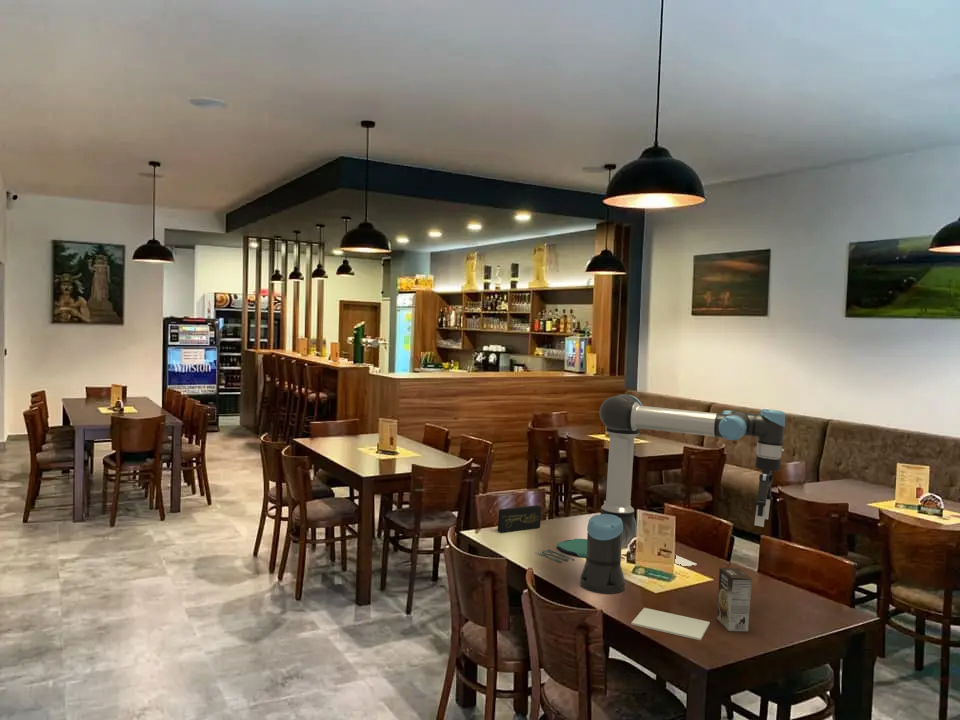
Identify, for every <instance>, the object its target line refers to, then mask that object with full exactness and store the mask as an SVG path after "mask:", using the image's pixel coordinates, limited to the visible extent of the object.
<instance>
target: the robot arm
mask: <svg viewBox="0 0 960 720" xmlns="http://www.w3.org/2000/svg"><path fill="white" fill-rule="evenodd" d="M599 418H600V420H601V422H602V424H603V425H604V426H605V433H606V434H607V435H608V436H609V442H608V444H609V446H608V462H607V480H606V493H605V495H606V496H605V502H604V503H603V505H601V506H600V507H601V508H600V514H594V515H593V516H591V517H590V518H589V519H588V523H587V526H586V527H587V533H586V534H587V536H586V539H587V556H586V557H585V558H586V560H585V563H584V567H583V569H582V571H581V574H580V577H579V584H580V587H581V588H583V589H585V590H588V591H590V592H594V593H599V594H616V593H617V594H618V593H621V592H623V591H624V590H625V587H626V586H625V585H626V580H625V576H624V573H623V570H622V569H623V568H622V565H621V563H622V549H623V547H624V546H625V545H627V544H629V543H630V542H631V541H632V539H633V538H634V536H635V535H636V532H637V522H636V518H635V509H634V507H632V505H631V498H632V483H633V482H632V480H633V467H634V466H633V465H634V464H633V463H634V451H635V449H634V448H635V439H636V438H637V436H639V435H640V429H642V430H652V431H661V432H668V433H670V432H671V433H676V434H677V433H678V434H687V435H697V436H705V437H714V438H720V439H721V438H722V439H725V440H727V441H728V440H729V441H737V440H739V439H741V438H743V436H746V437H753V438H757V442H756V443H757V445H756V453H755V454H756V455H757V456H756V457H755V462H754V464H755V465H754V466H755V468H756V469H759V470H762V472H761V473H760V474H759V477H758V479H759V481H758V491H757V495H756V496H757V497H756V501H754V502H753V503H754V505H755V506H756V507H755V508H756V509H755V517H754V526H757V527H762V528H764V527H765V520H769V516H770V515H769V514H770V506H771V500H774V499H773V498H774V496H772V489H773V488H772V487H773V482H774V475H773V474H774V472H779V471H780V470H781V464H782V463H781V462H782V460H781V458H782V453H783V452H784V451H785V450H784V448H783V443H784V437H785V435H784V434H785V428H786V427H785V426H786V413H785V412H784V411H782V410H777V409H770V408H762V409H761V410H760V413H751V412H744V411H743V412H742V411H736V410H723V411H722V413H715V412H706V411H705V412H704V411H697V410H687V409H677V408H666V407H658V406H657V407H655V406H647V405H643V404H642V402H641V401H640V400H639V399H638V398H637V397H635V396H633V395H631V394H626V393H624V394H618V395H614V396H609V397H608V398H606V399H604V401H603V402H602V403H601V405H600V406H599ZM621 548H622V549H621Z"/></svg>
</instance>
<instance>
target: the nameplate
mask: <svg viewBox="0 0 960 720" xmlns="http://www.w3.org/2000/svg"><path fill="white" fill-rule="evenodd" d="M541 518H542V507H541V506H540V505H527V506H518V507H507V508H501V509H499V510H498V518H497V519H498V520H497V521H498V522H497V531H498V533H501V534H505V533H512V532H513V533H514V532H521V531H529V530H537V529H538V528H539V529H540V528H541V522H542V521H541V520H542V519H541Z"/></svg>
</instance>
